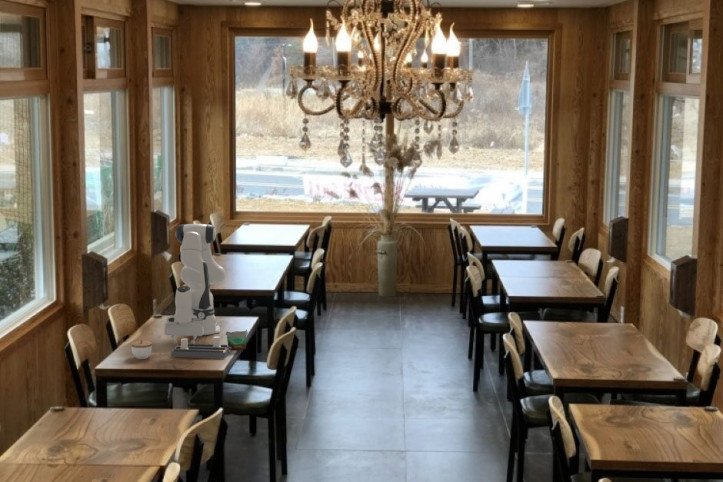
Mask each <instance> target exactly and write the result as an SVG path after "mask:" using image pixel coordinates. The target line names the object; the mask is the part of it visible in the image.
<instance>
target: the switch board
mask: <svg viewBox="0 0 723 482" xmlns="http://www.w3.org/2000/svg"><path fill="white" fill-rule="evenodd" d="M213 346H214V344H211V343H210V344H209V343H206V344H205V343H195V344H191V343H188V348H189V349H180V348H181V342H180V343H177V344H176V346H174V348H173V349H172V350H171V358H193V359H194V358H197V359H199V358H200V359H204V358H205V359H226V357H227V356H228V355H229V354H230V350H229V347H228V344H220V346H221V347H213Z"/></svg>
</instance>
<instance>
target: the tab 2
mask: <svg viewBox="0 0 723 482" xmlns="http://www.w3.org/2000/svg"><path fill="white" fill-rule="evenodd" d="M212 341H213V342H212V343H213V344H214V346H213V347H221V346H220V345H221V336H220V335H219V336H213V340H212Z"/></svg>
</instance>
